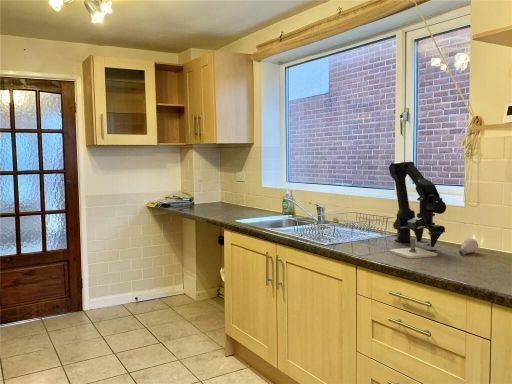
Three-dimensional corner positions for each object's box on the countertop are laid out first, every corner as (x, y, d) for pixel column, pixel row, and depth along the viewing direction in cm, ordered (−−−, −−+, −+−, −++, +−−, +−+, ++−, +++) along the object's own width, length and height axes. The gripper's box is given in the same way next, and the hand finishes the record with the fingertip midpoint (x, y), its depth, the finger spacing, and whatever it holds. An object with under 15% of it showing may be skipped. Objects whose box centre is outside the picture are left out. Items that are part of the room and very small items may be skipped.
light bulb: (465, 245, 193) (478, 235, 199) (451, 246, 198) (464, 236, 204) (470, 260, 193) (483, 249, 199) (456, 260, 199) (469, 249, 205)
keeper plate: (389, 251, 204) (389, 237, 204) (416, 249, 208) (416, 235, 208) (408, 258, 191) (409, 243, 190) (437, 255, 195) (437, 240, 195)
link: (415, 247, 212) (415, 241, 212) (426, 246, 214) (427, 240, 214) (424, 250, 206) (424, 243, 206) (436, 249, 208) (436, 242, 208)
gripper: (398, 209, 215) (398, 242, 216) (424, 214, 197) (424, 250, 199) (418, 208, 218) (418, 241, 220) (446, 213, 201) (445, 248, 202)
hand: (425, 245), depth 210 cm, fingers open, 9 cm apart
